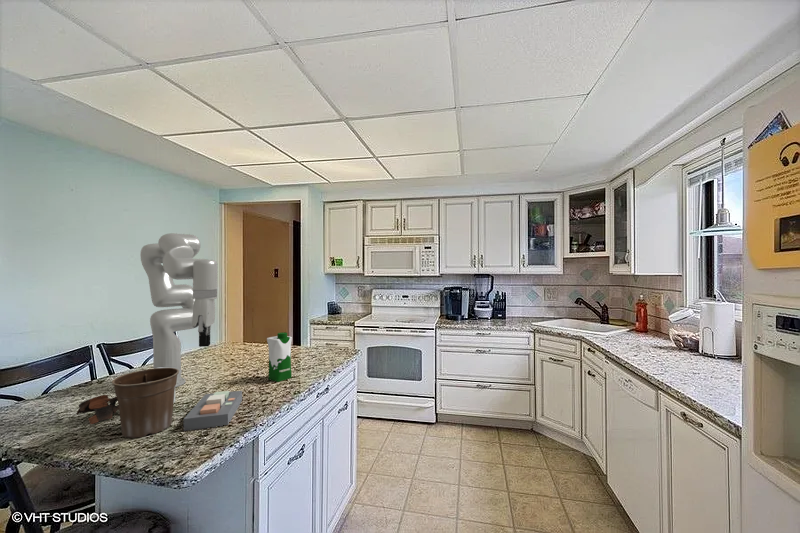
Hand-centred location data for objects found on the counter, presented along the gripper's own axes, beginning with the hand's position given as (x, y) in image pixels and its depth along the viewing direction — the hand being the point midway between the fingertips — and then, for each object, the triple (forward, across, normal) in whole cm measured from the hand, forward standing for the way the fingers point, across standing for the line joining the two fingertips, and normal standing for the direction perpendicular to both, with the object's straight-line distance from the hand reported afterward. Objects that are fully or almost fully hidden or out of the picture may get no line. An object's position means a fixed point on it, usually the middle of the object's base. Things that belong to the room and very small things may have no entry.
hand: (204, 345), depth 121 cm
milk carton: (+21, -22, +24) cm, 39 cm away
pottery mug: (+22, +2, -29) cm, 37 cm away
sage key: (+19, +5, +7) cm, 20 cm away
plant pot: (+21, +16, -11) cm, 29 cm away
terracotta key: (+18, +17, +6) cm, 26 cm away
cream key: (+18, +11, +6) cm, 22 cm away
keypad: (+20, +11, +6) cm, 24 cm away
